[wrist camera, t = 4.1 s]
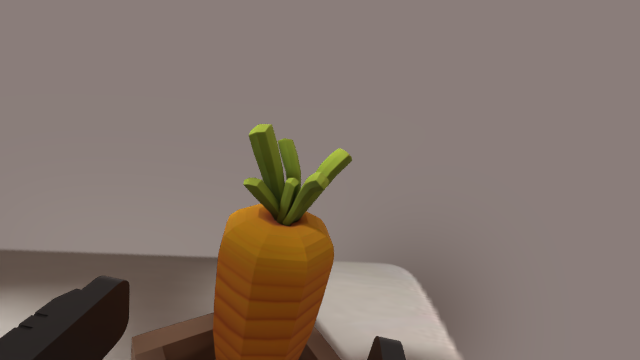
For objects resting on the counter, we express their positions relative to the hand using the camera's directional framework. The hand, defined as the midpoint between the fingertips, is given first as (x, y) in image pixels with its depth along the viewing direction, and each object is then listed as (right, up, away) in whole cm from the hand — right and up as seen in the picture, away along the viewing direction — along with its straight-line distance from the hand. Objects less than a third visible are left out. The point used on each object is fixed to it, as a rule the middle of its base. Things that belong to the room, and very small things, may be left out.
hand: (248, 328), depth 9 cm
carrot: (-2, -8, +6) cm, 10 cm away
